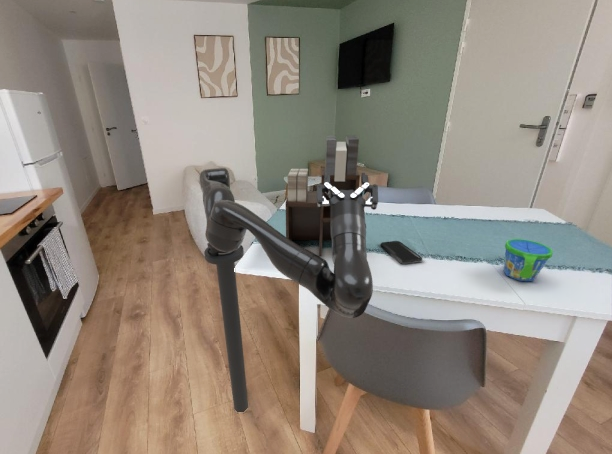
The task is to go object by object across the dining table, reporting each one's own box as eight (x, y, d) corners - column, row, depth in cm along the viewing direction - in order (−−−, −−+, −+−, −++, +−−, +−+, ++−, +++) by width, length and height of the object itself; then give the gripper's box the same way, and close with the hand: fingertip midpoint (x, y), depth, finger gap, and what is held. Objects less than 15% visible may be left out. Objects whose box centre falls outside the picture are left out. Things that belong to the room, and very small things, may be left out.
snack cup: (541, 294, 81) (554, 262, 77) (494, 281, 87) (504, 251, 83) (541, 270, 91) (552, 241, 87) (499, 260, 98) (508, 233, 94)
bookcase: (352, 257, 104) (363, 139, 88) (286, 254, 108) (284, 141, 92) (349, 241, 116) (358, 134, 101) (290, 238, 121) (289, 136, 105)
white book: (344, 181, 86) (346, 150, 82) (334, 181, 86) (336, 150, 83) (344, 167, 104) (345, 141, 100) (335, 167, 104) (336, 141, 101)
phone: (398, 240, 112) (423, 259, 98) (398, 243, 113) (423, 261, 99) (379, 242, 111) (402, 261, 98) (379, 245, 112) (401, 264, 98)
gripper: (315, 234, 69) (317, 185, 78) (378, 236, 66) (372, 185, 76) (315, 214, 63) (317, 164, 73) (384, 215, 60) (377, 163, 70)
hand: (345, 175), depth 74 cm, fingers open, 8 cm apart
